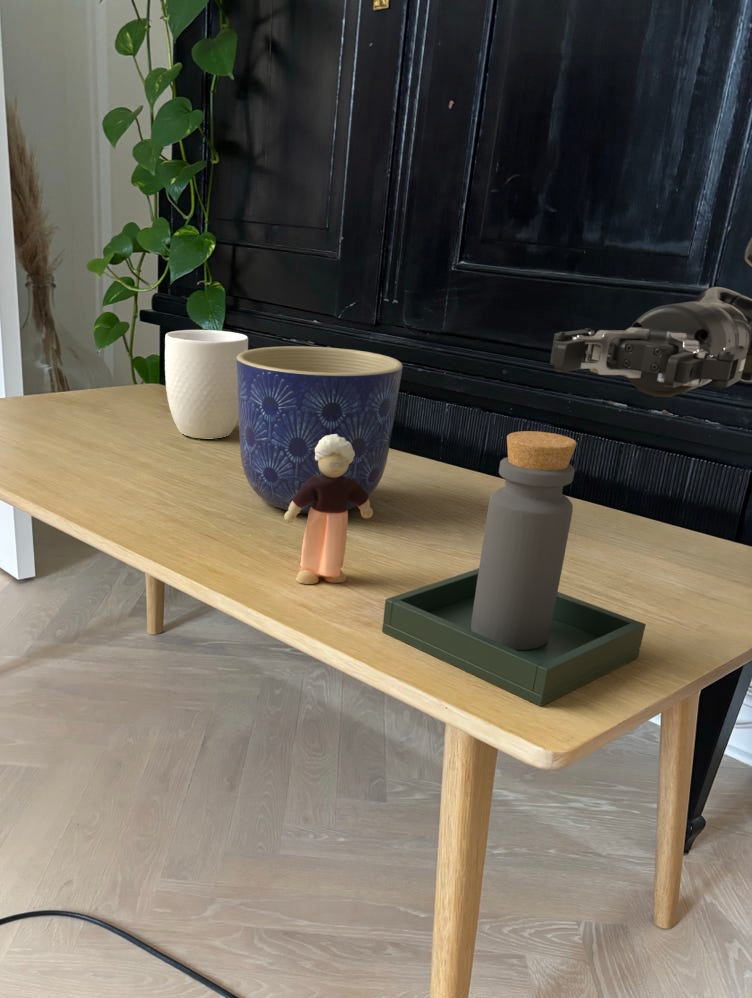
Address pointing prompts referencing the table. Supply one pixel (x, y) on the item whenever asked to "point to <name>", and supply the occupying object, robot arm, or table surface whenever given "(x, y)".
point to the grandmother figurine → (327, 511)
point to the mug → (203, 380)
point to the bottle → (525, 541)
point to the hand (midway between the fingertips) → (613, 365)
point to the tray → (526, 673)
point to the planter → (313, 415)
